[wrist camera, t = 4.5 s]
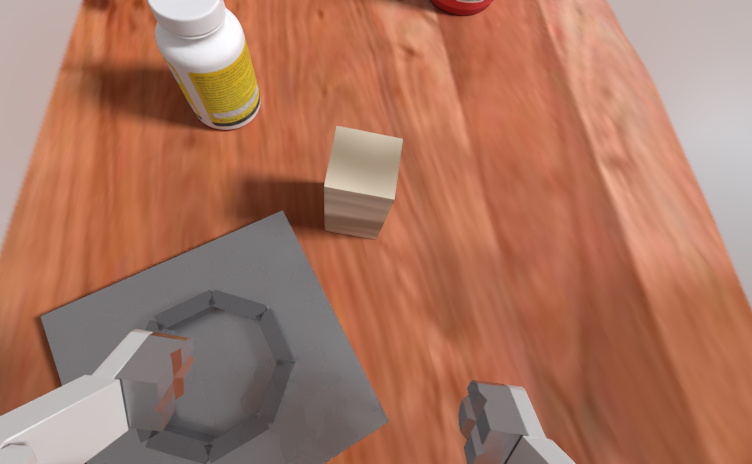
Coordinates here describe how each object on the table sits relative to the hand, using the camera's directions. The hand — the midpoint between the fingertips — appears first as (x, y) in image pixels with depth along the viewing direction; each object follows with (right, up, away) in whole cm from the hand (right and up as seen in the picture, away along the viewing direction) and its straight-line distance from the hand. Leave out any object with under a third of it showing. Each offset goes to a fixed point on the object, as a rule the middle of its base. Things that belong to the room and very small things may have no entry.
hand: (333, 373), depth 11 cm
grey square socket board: (-9, -5, +13) cm, 17 cm away
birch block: (0, +6, +18) cm, 19 cm away
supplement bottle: (-11, +15, +19) cm, 27 cm away
